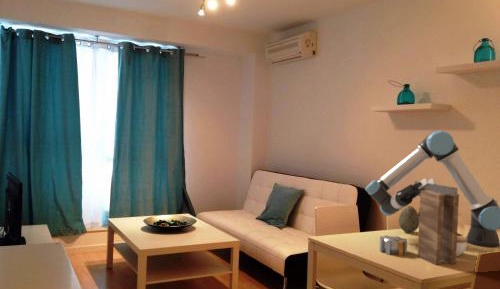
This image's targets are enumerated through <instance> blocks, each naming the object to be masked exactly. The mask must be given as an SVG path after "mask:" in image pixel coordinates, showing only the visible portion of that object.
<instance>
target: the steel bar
mask: <svg viewBox="0 0 500 289" xmlns="http://www.w3.org/2000/svg"><path fill="white" fill-rule="evenodd" d="M420 181H421V180H418V181H417V180H415V181H414V184H417V183H418V182H420ZM421 189H424V190H428V191H433V192H438V193H443V194H448V195H457V194H458V187H454V186H448V185H444V184H437V183H435V184H433V183H428V184H427V185H425V186H424V187H422V188H421Z"/></svg>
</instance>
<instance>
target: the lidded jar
mask: <svg viewBox="0 0 500 289" xmlns="http://www.w3.org/2000/svg"><path fill="white" fill-rule="evenodd" d="M467 244H468V242H467V238H466V236H462V235H457V249H456V257H460V256H461V255H462V254H463V253H464V252H465V251H466V249H467Z"/></svg>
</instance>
